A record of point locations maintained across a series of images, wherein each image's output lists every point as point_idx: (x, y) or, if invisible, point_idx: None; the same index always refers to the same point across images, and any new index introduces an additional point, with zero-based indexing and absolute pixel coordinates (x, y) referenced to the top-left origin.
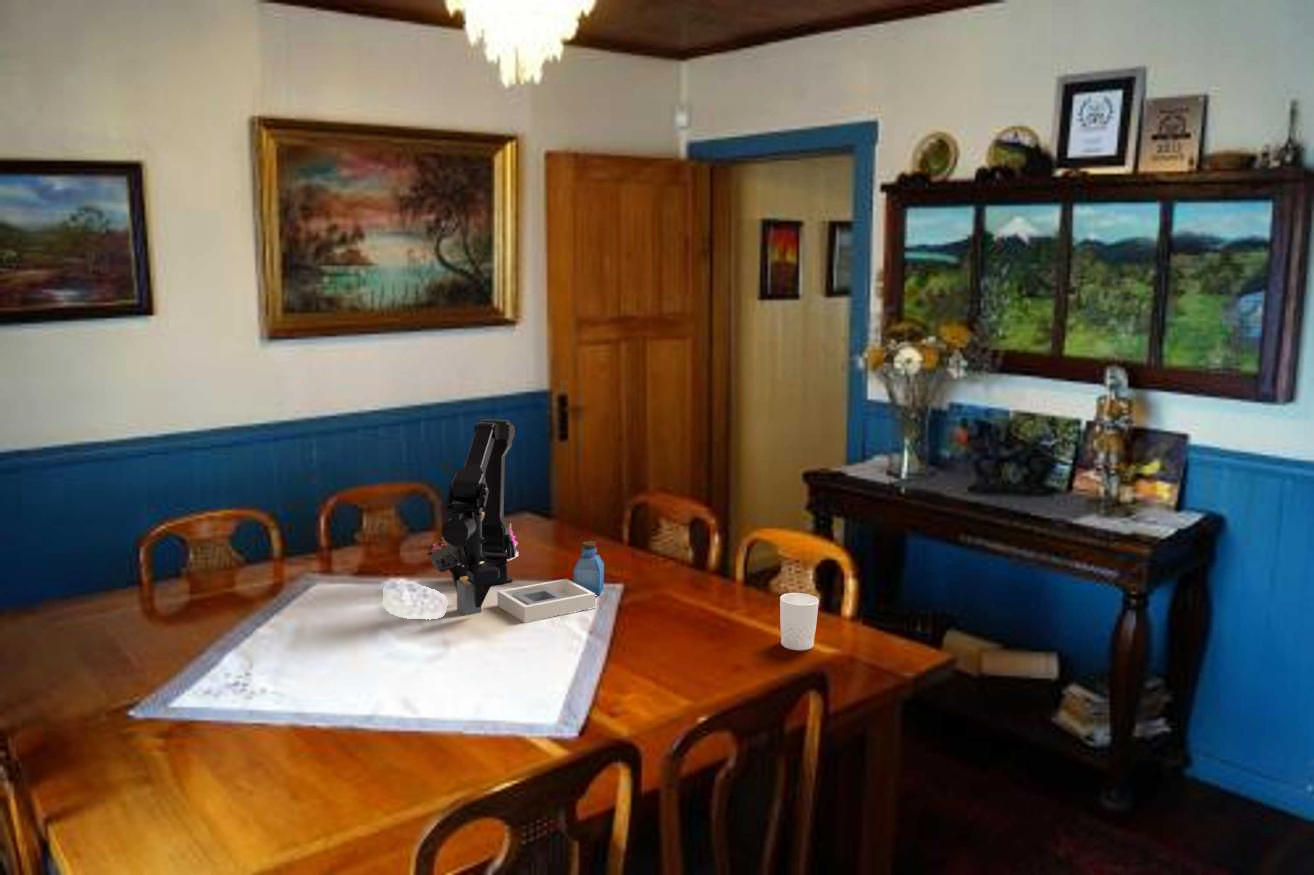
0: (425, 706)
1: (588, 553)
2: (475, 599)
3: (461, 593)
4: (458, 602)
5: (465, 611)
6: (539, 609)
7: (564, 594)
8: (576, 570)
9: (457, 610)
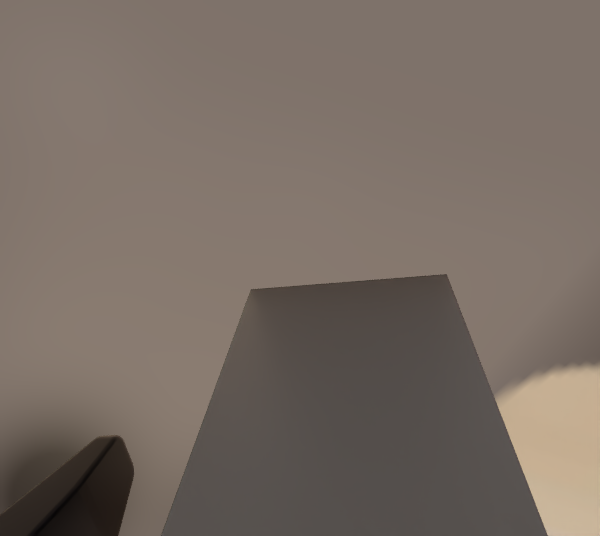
0: None
1: None
2: (5, 515)
3: (308, 464)
4: (415, 336)
5: (244, 320)
6: None
7: None
8: None
9: (436, 276)
